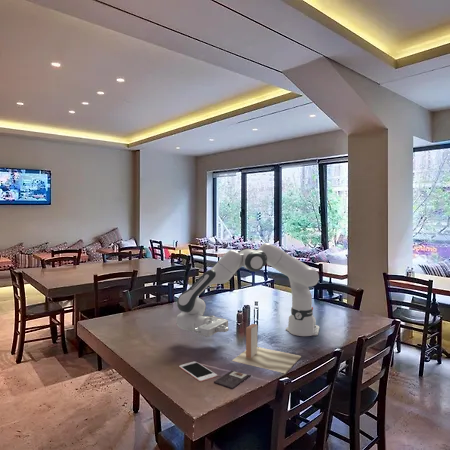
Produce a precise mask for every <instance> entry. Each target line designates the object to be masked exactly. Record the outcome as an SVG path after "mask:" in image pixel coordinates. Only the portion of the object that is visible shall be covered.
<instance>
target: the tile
mask: <svg viewBox="0 0 450 450" xmlns="http://www.w3.org/2000/svg"><path fill="white" fill-rule="evenodd" d="M258 327H259V326H258V324H255V323H251V324H250V325H248V326H247V327H245V328H246V329H245V334H246V335H245V350H246V357H249V358H251V357H253V356H254V355H255V354H257V347H258Z"/></svg>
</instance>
